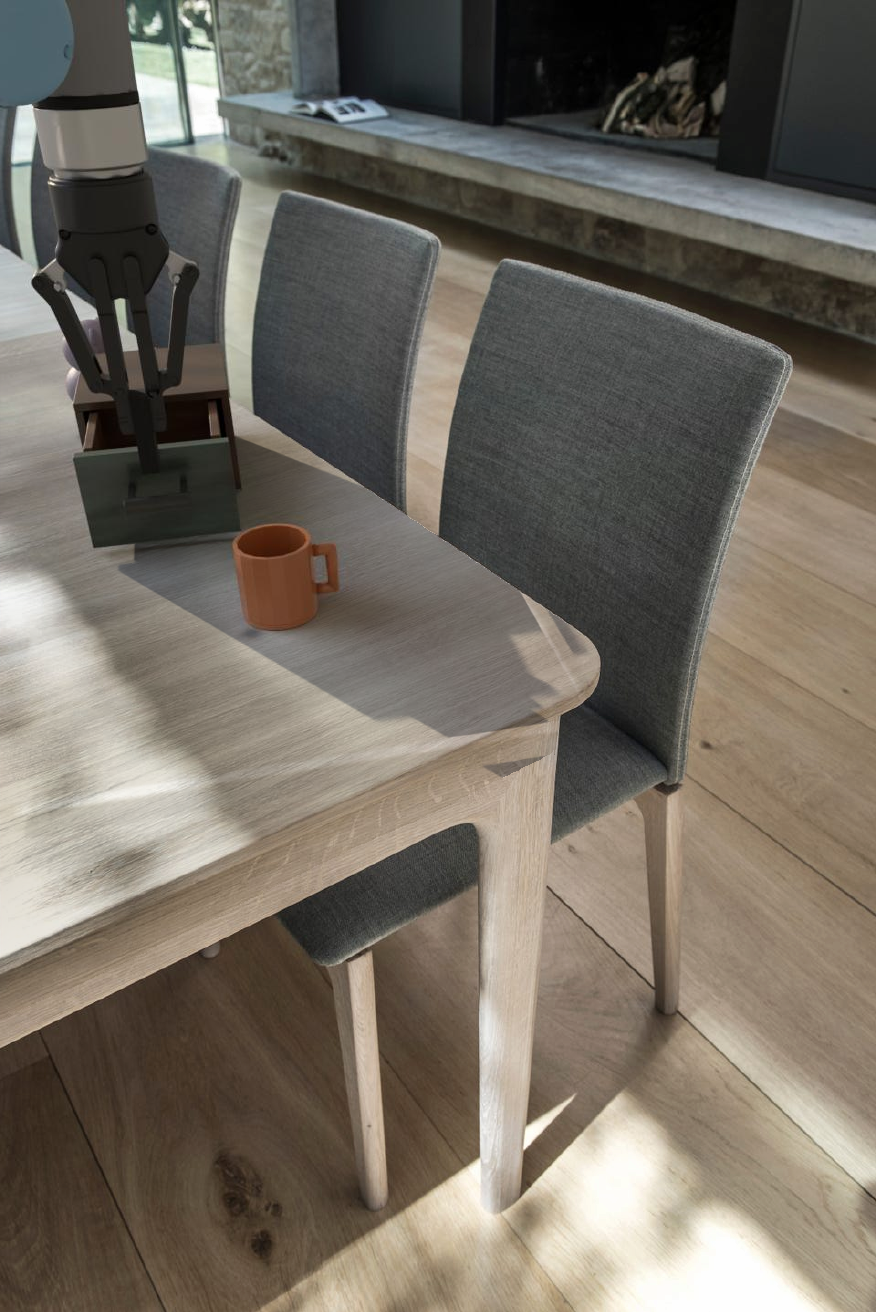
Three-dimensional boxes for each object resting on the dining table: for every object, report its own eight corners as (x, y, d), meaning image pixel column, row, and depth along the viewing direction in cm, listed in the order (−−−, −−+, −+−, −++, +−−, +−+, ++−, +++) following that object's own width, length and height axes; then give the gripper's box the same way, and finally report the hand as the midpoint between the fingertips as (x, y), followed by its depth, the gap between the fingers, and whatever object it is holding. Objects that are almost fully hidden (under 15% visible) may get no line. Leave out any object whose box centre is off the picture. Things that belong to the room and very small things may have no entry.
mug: (245, 635, 84) (234, 563, 81) (240, 597, 89) (230, 528, 86) (346, 621, 86) (340, 550, 82) (336, 585, 91) (330, 516, 87)
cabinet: (242, 490, 108) (228, 389, 102) (95, 506, 105) (72, 404, 99) (233, 434, 120) (221, 342, 114) (103, 448, 118) (83, 354, 112)
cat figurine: (79, 412, 128) (56, 312, 121) (145, 407, 129) (126, 307, 122) (70, 438, 121) (46, 333, 114) (140, 432, 122) (120, 328, 115)
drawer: (244, 554, 94) (231, 462, 89) (90, 572, 92) (68, 479, 87) (233, 470, 110) (221, 388, 105) (101, 484, 107) (83, 401, 102)
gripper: (187, 158, 82) (225, 444, 95) (12, 166, 80) (76, 458, 93) (188, 172, 76) (229, 476, 89) (-1, 182, 74) (69, 492, 86)
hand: (151, 467), depth 91 cm, fingers closed
